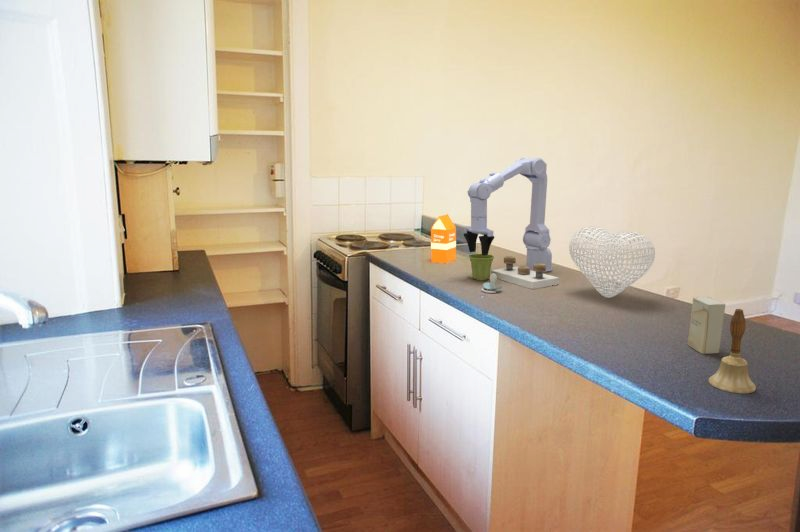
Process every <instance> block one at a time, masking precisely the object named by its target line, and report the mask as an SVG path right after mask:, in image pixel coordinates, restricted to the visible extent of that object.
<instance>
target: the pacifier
mask: <svg viewBox="0 0 800 532" xmlns="http://www.w3.org/2000/svg"><path fill="white" fill-rule="evenodd" d="M489 281H490V282H484V283H483V284H482V286H483V287H482V288H481V289H480V291H481V292H483V293H487V294H495V293H497V292H498V291H497V290H500V289H502V288H503V286H496V282H497V276H496V274H495V273H492V274H491V273H490V277H489ZM484 289H488V290H484Z"/></svg>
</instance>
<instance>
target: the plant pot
mask: <svg viewBox="0 0 800 532" xmlns="http://www.w3.org/2000/svg"><path fill="white" fill-rule="evenodd" d="M468 258H469V261H470V264H471V273H472V279H473V280H477V281H486V280H490V275H491V270H492V263H493V260H494V258H495V256H494V255H493V254H489V253H488V255H482V253H473V254H472V253H471V254H469V255H468Z"/></svg>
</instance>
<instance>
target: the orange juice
mask: <svg viewBox="0 0 800 532" xmlns="http://www.w3.org/2000/svg"><path fill="white" fill-rule="evenodd" d="M430 251H431V252H430V254H431V255H430V259H431V260H430V263H435V262H438V263H437V264H444V263H447V264H449V262H450V263H452V262H455V261H456V259H457V254H456V252H457V228H456V225H455V224H454V222H453V221H452V219H451V217H450V216H449V214H447V213H446V214H444V215H443V214H442V215H440V216H438V217H437V218H436V220H435V222H434V223H433V225H432V227H431V228H430ZM454 260H455V261H454ZM451 261H452V262H451Z"/></svg>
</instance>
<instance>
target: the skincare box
mask: <svg viewBox="0 0 800 532" xmlns="http://www.w3.org/2000/svg"><path fill="white" fill-rule="evenodd" d="M725 311H726V303H724V302H722V301H719V300H717V299H715V298H712V297H710V296H703V297H702V296H700V297H699V296H697V297H694V296H693V298H692V305H691V312H690V313H691V314H690V322H689V331H688V335H687V345H688V347H691V348H692V349H694V350H695V351H697V352H698V353H699V354H703V355H705V354H706V355H708V354H719V353H720V348H721V339H722V333H723V325H724V318H725V317H724V316H725Z"/></svg>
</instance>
